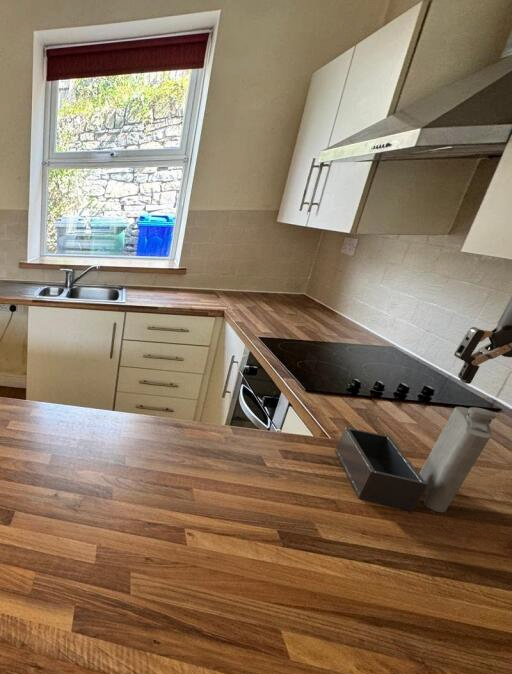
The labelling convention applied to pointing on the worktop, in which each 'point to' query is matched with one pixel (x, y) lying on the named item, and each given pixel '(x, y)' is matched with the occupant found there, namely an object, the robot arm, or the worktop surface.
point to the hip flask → (455, 455)
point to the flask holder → (379, 469)
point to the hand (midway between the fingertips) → (495, 386)
